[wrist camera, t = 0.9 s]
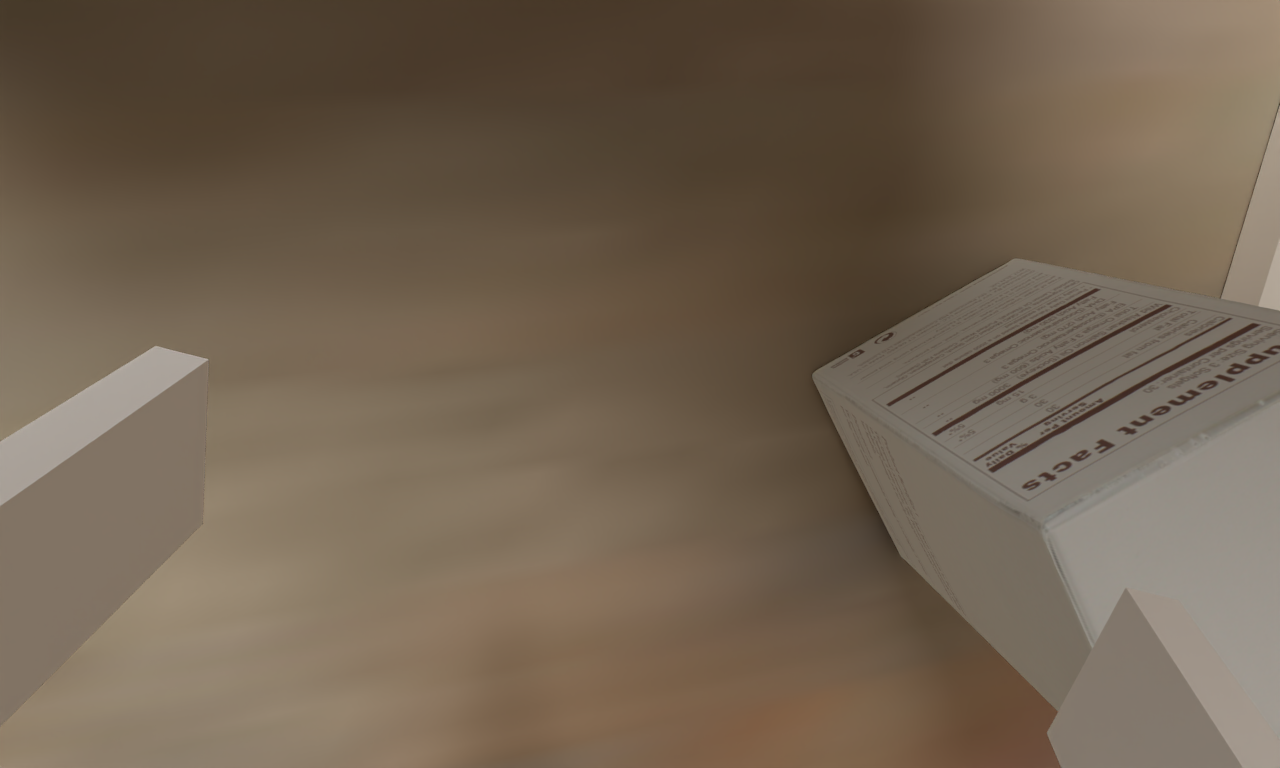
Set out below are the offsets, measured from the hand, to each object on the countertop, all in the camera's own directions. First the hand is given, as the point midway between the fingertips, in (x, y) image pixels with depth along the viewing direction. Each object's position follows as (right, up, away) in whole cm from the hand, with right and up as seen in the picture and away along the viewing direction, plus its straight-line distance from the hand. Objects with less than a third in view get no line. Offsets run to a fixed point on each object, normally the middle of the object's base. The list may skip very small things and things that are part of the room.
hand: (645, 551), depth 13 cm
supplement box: (+10, +2, +16) cm, 19 cm away
